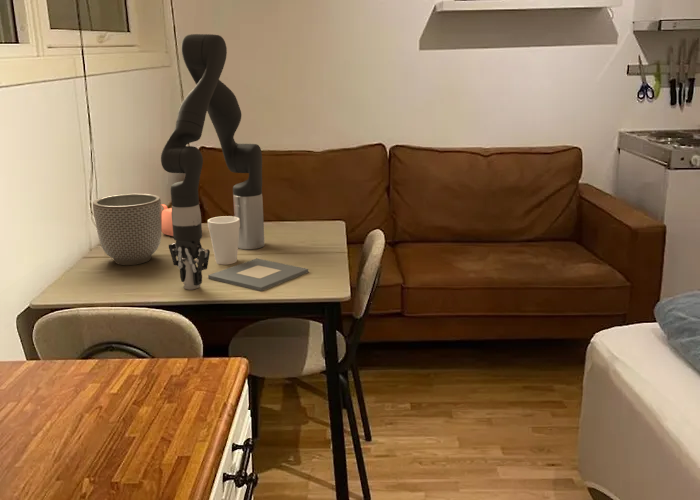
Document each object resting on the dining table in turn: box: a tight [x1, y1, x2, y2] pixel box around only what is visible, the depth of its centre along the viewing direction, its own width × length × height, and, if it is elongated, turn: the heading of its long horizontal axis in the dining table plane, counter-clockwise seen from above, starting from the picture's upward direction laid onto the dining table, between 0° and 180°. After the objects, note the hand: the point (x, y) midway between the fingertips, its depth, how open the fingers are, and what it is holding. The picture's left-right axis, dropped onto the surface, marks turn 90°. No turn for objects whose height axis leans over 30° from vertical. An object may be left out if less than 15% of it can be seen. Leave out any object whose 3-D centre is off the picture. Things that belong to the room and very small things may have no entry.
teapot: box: [161, 203, 173, 237], centre depth 255 cm, size 12×18×10 cm, turn 50°
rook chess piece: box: [182, 258, 201, 291], centre depth 197 cm, size 4×4×8 cm
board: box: [207, 257, 309, 292], centre depth 207 cm, size 20×20×1 cm
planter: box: [92, 193, 162, 266], centre depth 222 cm, size 20×20×19 cm
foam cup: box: [207, 215, 240, 265], centre depth 220 cm, size 10×9×13 cm
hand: (191, 282), depth 198 cm, fingers closed on rook chess piece, 4 cm apart
